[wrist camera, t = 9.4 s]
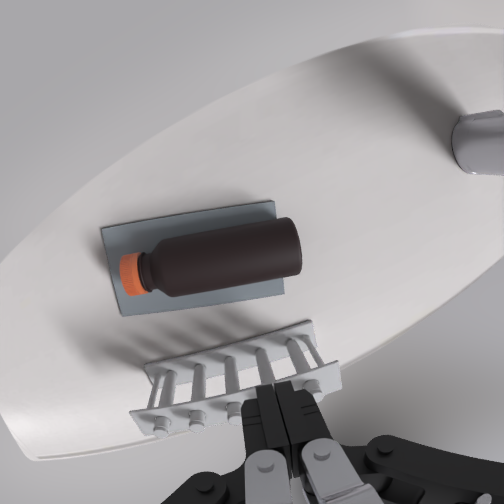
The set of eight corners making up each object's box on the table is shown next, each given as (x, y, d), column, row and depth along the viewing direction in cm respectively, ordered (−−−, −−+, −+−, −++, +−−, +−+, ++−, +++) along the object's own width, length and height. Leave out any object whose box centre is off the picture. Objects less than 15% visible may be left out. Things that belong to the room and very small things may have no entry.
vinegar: (296, 214, 31) (111, 249, 30) (306, 278, 31) (124, 310, 30) (284, 217, 38) (130, 246, 36) (293, 270, 38) (141, 297, 37)
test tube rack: (156, 386, 41) (141, 448, 28) (144, 363, 40) (123, 424, 27) (316, 344, 42) (349, 399, 29) (311, 319, 41) (346, 371, 28)
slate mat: (273, 201, 37) (274, 201, 36) (283, 292, 39) (284, 294, 39) (102, 228, 35) (101, 229, 34) (123, 315, 38) (122, 316, 37)
